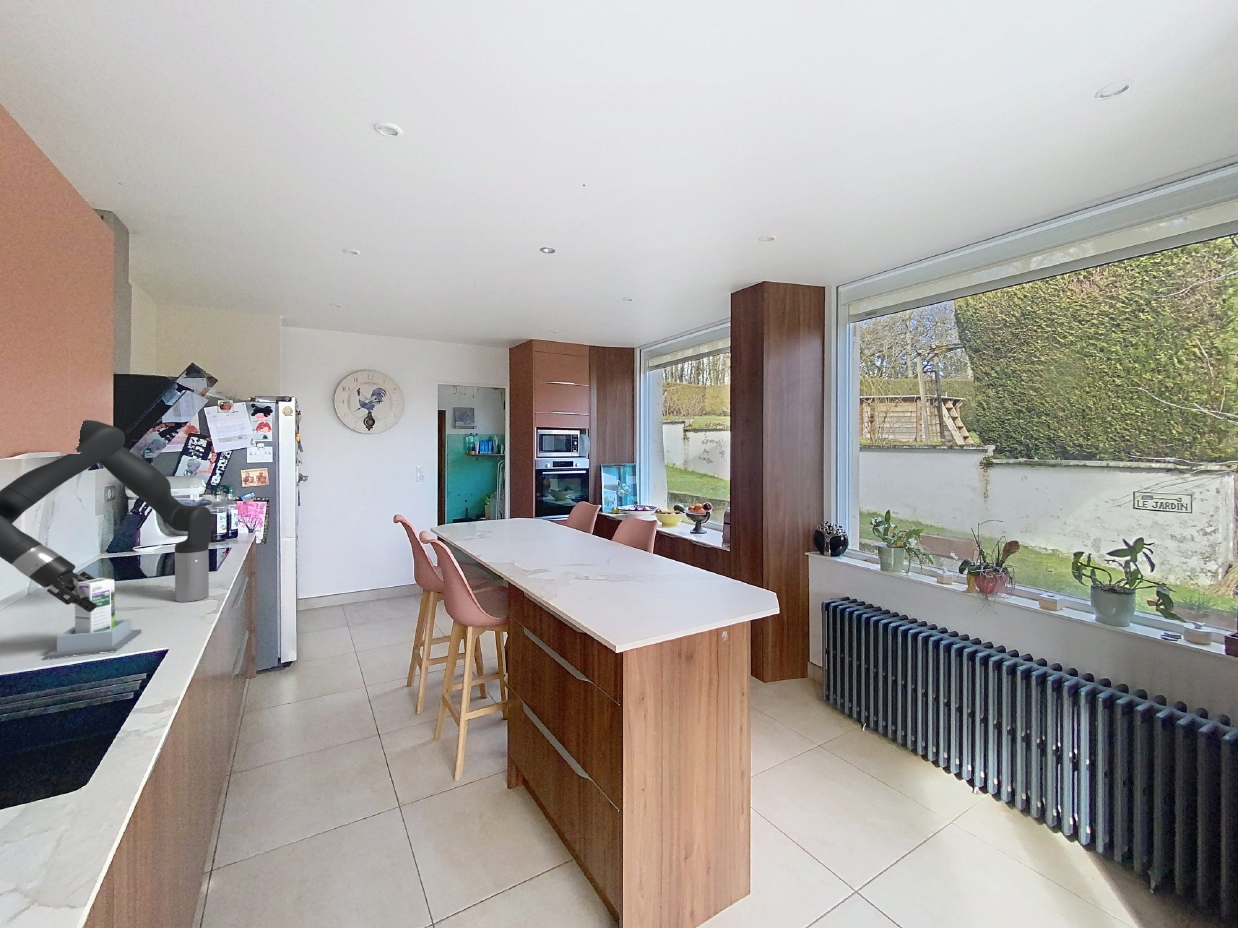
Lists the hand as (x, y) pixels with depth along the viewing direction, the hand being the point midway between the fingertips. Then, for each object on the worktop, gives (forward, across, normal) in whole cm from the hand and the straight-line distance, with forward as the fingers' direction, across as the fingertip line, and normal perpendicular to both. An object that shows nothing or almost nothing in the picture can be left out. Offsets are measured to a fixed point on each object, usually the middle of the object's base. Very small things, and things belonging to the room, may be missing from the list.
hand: (102, 604), depth 141 cm
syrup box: (+4, 0, +6) cm, 8 cm away
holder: (+7, 0, +9) cm, 11 cm away
